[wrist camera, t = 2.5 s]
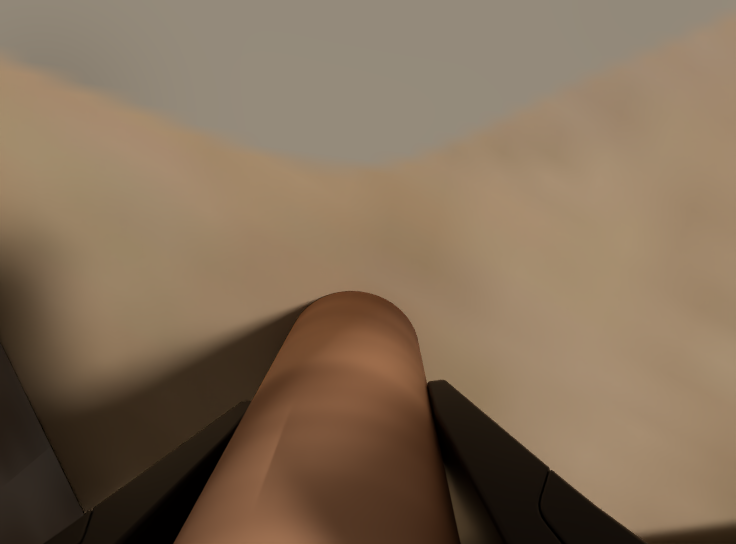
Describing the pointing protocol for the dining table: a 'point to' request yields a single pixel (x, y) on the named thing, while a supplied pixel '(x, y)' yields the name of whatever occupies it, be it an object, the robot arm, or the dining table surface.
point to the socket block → (28, 471)
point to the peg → (334, 441)
